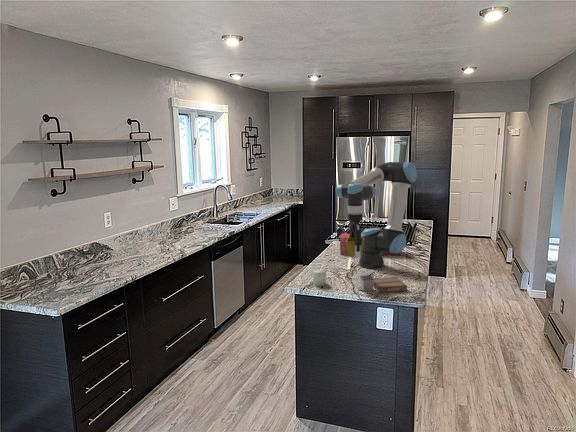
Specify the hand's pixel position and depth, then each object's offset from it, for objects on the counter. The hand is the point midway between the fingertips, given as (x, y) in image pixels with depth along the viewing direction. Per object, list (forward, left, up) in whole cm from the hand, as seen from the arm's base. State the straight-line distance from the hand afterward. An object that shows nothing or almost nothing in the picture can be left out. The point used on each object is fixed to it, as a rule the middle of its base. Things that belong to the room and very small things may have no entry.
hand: (355, 254), depth 221 cm
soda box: (-62, +28, -17) cm, 70 cm away
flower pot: (0, 0, -1) cm, 1 cm away
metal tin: (+9, +4, -17) cm, 19 cm away
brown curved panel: (+8, +16, -17) cm, 24 cm away
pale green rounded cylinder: (-5, -18, -17) cm, 25 cm away
